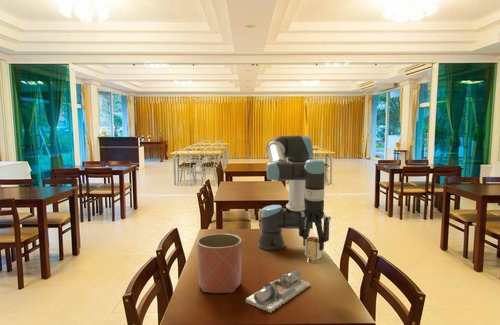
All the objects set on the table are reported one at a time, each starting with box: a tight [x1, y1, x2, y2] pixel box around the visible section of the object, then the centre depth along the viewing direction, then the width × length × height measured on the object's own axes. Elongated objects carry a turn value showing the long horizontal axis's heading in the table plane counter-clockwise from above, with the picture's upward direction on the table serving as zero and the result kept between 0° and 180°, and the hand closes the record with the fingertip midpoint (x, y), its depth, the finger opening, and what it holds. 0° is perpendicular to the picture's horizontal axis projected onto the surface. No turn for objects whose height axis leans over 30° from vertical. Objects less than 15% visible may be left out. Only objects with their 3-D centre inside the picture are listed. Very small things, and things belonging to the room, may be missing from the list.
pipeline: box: [245, 269, 310, 314], centre depth 137 cm, size 28×12×6 cm, turn 140°
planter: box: [196, 233, 243, 294], centre depth 144 cm, size 19×19×20 cm
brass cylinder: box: [306, 236, 320, 265], centre depth 135 cm, size 5×5×10 cm
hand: (313, 255), depth 136 cm, fingers closed on brass cylinder, 5 cm apart
